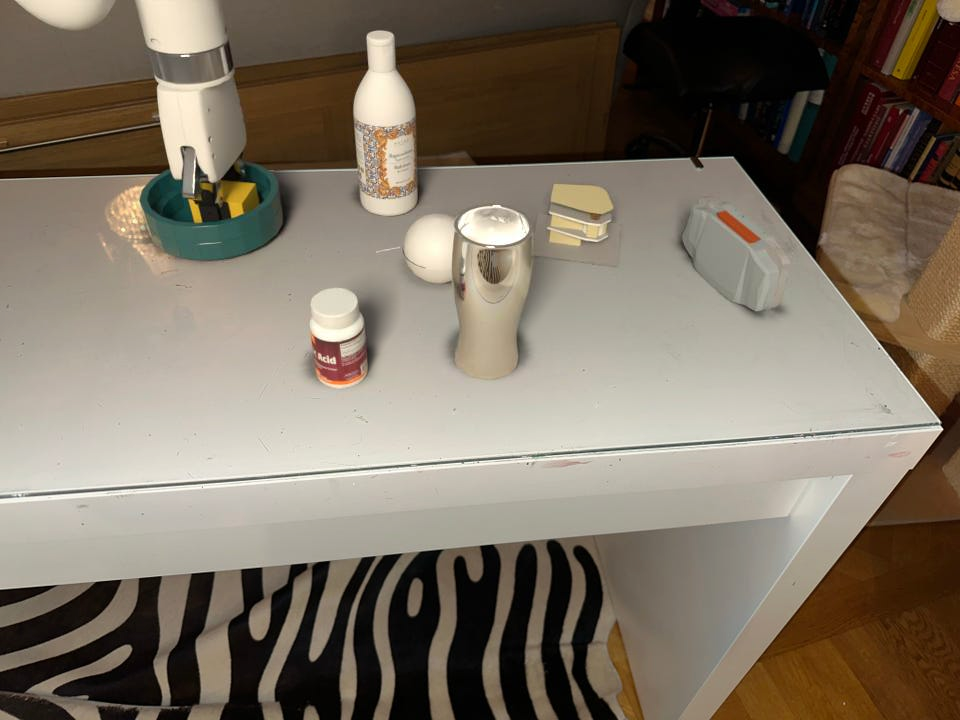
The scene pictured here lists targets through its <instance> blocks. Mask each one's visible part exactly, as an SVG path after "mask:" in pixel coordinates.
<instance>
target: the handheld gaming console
mask: <svg viewBox="0 0 960 720" xmlns="http://www.w3.org/2000/svg"><path fill="white" fill-rule="evenodd" d="M681 237H682V242H683V245H684V248H685V249H686V251H687V253H688V254H689V256H690V257H691V259H692V263H693V267H694V269H695V270H696V271H697V272H698V274H699V275H700V276H701V277H702V278H703V279H704V280H705V281H706V282H707V283H708V284H709V285H710V286H711V287H712V288H714V289H715V290H716V291H717V292H718V293H719V294H721V295H722V296H723V297H725V298H726V299H727V300H729V301H730V302H732V303H735V304H739V305H743V306H745V307H747V308H748V309H750V310H752V311H754V312H760V311H764V310H765V311H768V310H773V309H776V308H777V307H778V306H779V304H781V302H782V300H783V296H784V293H785V288H786V286H787V281H788V275H789V271H790V266H791V260H790V258H789V257H788V255H787V254H786V252H784V251H783V249H782V248H781V247H780V245H779V244H778V242H777V240H776V239H775V237H774V236H773V235H772V234H770V233H769V232H768V231H767V230H766V229H764V228H763V227H762V226H761V225H759V224H758V223H757V222H755V221H754V220H753V219H751V218H750V217H749V216H748V215H746V214H745V213H744V212H742V211H741V210H740V209H739V208H738V207H736V206H735V205H734V204H732V203H731V202H726V201H720V200H719V199H717V198H715V197H713V196H711V195H708V196H704V197H701V198H700V199H699V203H697V204H694V205H693V206H691V210H690V213H689V217H688V219H687V222H686V225H685V228H684V231H683V232H682V236H681Z"/></svg>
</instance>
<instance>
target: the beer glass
mask: <svg viewBox="0 0 960 720" xmlns="http://www.w3.org/2000/svg"><path fill="white" fill-rule="evenodd" d="M455 218H456V219H455V221H454V234H453V243H452V254H451V279H452V281H451V287H452V294H453V299H454V303H455V308H456V313H457V317H458V324H459V326H458V327H459V334H458V339H457V344H456V347H455V351H454V361H455V364H456V366H457V368H458V369H459V370H460V371H461V372H462V373H464V374H465V375H467V376H469V377H471V378H474V379H477V380H483V381H494V380H498V379H501V378H504V377H507V376H508V375H510V374H511V373H513V371H514V370H516V368H517V366H518V363H519V348H518V342H517V331H518V326H519V323H520V319H521V317H522V314H523V309H524V307H525V305H526V304H525V303H526V302H527V301H526V300H527V297H528V293H529V289H530V286H531V280H532V274H533V273H532V272H533V261H534V256H533V236H534V230H535V228H534V223H533V220H532V218H531V217H530V216H529V215H528V214H526V213H525V212H524V211H522V210H521V209H519V208H516V207H513V206H510V205H507V204H501V203H481V204H477V205H472V206H469V207H467V208H465V209H463V210H462V211H461V212H460V213H458V214H457V215H456V217H455Z"/></svg>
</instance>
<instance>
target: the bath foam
mask: <svg viewBox="0 0 960 720" xmlns="http://www.w3.org/2000/svg"><path fill="white" fill-rule="evenodd" d="M395 38H396V37H395V35H394V34H393V32H391V31H388V30H374V31H370V32H368V33H367V35H366V47H367V48H366V51H367V53H366V54H367V63H368V65H367V66H368V70H367V71H366V73H365V74H364V76H363V77H362V80H361V81H360V83H359V85H358V87H357V89H356V92H355V94H354V100H353V105H352V106H353V108H352V109H353V111H352V116H353V129H354V140H355V151H356V163H357V164H356V165H357V175H358V187H359V197H360V198H359V199H360V203H361V205H362V207H363V208H364V209H365V210H366V211H367V212H369V213H371V214H373V215H377V216H381V217H396V216H401V215H404V214H406V213H409V212H410V211H412V210H413V209H414V208H415V207H416V205H417V203H418V196H419V195H418V191H419V190H418V151H417V149H418V148H417V147H418V146H417V112H416V105H415V101H414V97H413V94H412V91H411V90H410V87H409V86H408V84H407V83H406V81H405V80H404V78H403V77H402V76H401V74H400V73H399V71H398V69H397V68H396V67H397V65H396V59H397V57H396V39H395Z"/></svg>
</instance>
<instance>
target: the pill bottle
mask: <svg viewBox="0 0 960 720" xmlns="http://www.w3.org/2000/svg"><path fill="white" fill-rule="evenodd" d="M310 313H311V314H310V315H311V317H310V319H309V325H308V326H309V334H310V340H311V346H312V353H313V361H314V367H315V373H316V376H317V379H318V380H319V381H320V382H321V384H323V385H325V386H326V387H329V388H333V389H348V388H351V387H354V386H356V385H358V384H360V383H362V381H363V380H364V379H365V378H366V377H367V374H368V371H369V364H368V363H369V362H368V351H367V338H366V337H367V336H366V326H365V324H366V323H365V317H364V316H363V314H362V312H361V310H360V307H359V300H358V296H357V295H356V294H355V293H354V292H353V291H351V290H350V289H347V288H344V287H329V288H325V289H322V290H320V291H318V292H317V293H315V295H313V297H312V298H311V299H310Z"/></svg>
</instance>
